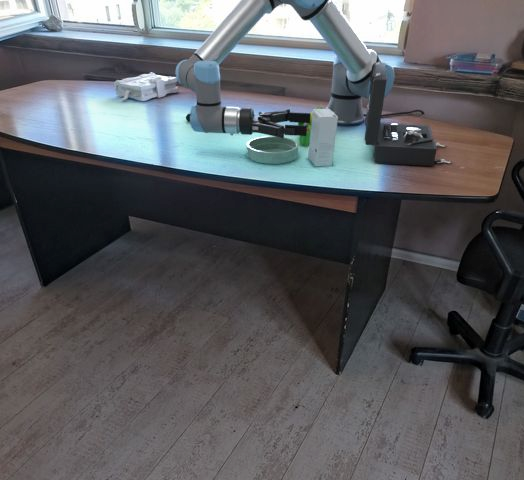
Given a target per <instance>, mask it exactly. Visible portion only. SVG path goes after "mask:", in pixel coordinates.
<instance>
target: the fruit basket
mask: <svg viewBox="0 0 524 480" xmlns="http://www.w3.org/2000/svg"><path fill="white" fill-rule="evenodd" d="M315 109H325V108H324V107H322V106H318V107H316V108H315ZM310 113H311V115H310V123H297V125H303V126H307V135H306V136H299V139H300V146H309V143H310V133H311V123H312V113H313V111H311V112H310Z"/></svg>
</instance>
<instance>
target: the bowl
mask: <svg viewBox="0 0 524 480" xmlns="http://www.w3.org/2000/svg"><path fill="white" fill-rule="evenodd" d="M246 156H247V158H248V159H249V160H251V161H253V162H256V163H261V164H268V165H279V164H285V163H289V162H293V161H294V160H297V158H298V156H299V143H298V141H296V140H294V139H292V138H289V137H285V136H284V138H281V137H275V136H271V135H266V136H260V137H259V136H258V137H255V138H252V139H250V140H249V141H247V142H246Z"/></svg>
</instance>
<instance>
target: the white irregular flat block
mask: <svg viewBox="0 0 524 480" xmlns="http://www.w3.org/2000/svg"><path fill="white" fill-rule="evenodd" d="M177 83H179V82H178V80H177V78H176V76H165V75H160V74H156V73H155V72H151V71H150V72H149V73H143V74H139V75H138V76H134V77H126V78H122V79H121V80H119V79H116V80H115V81H114V84H113V88H114V91H115V94H116V95H117V96H118V97H119V100H121V101H125V100H127V99H128V98H129V99H134V100H136V101H140V102H146V101H149V100H151V99H153V98H157V99H158V98H162V97H166V96H167V95H169V94H174V93H178V92H179V87H178V86H176V85H177Z"/></svg>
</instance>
